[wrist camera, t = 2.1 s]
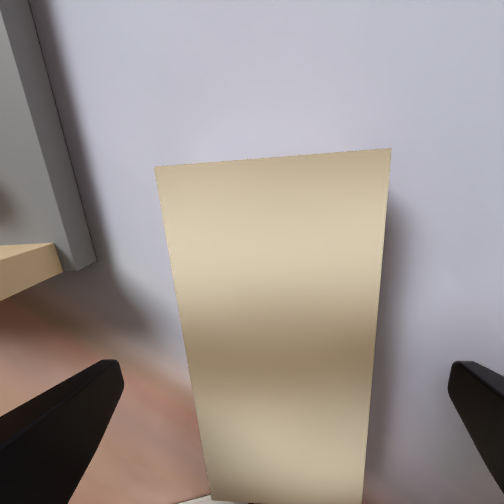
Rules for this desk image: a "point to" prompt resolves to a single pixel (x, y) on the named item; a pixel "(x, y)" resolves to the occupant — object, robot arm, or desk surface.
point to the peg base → (34, 166)
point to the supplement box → (209, 501)
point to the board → (280, 317)
